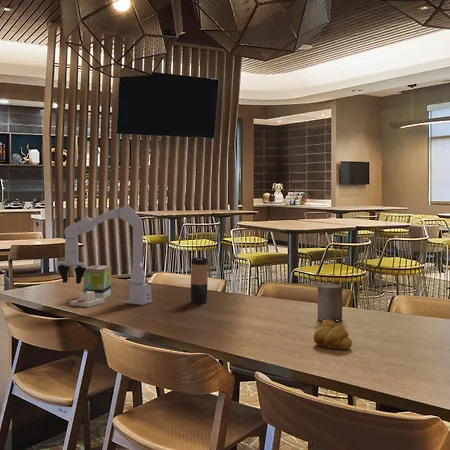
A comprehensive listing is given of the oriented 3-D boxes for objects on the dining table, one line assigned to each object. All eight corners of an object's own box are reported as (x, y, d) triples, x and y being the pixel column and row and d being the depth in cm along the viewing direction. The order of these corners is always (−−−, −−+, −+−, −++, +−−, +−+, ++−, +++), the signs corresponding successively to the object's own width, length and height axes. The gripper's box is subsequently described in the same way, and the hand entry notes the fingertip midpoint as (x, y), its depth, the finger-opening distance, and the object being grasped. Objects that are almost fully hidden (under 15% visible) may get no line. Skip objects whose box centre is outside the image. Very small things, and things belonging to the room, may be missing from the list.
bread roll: (358, 349, 179) (358, 324, 179) (336, 354, 174) (337, 328, 173) (328, 340, 190) (329, 317, 189) (307, 344, 184) (307, 320, 184)
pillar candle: (343, 318, 226) (343, 280, 225) (341, 323, 217) (341, 284, 216) (318, 316, 229) (318, 280, 228) (315, 321, 219) (316, 283, 219)
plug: (94, 303, 251) (94, 289, 251) (87, 305, 246) (87, 291, 246) (86, 302, 253) (86, 289, 252) (79, 304, 248) (79, 290, 248)
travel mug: (208, 300, 261) (208, 257, 260) (206, 304, 253) (207, 259, 252) (191, 300, 262) (192, 257, 261) (189, 303, 254) (190, 259, 253)
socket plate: (104, 303, 252) (104, 297, 252) (88, 307, 242) (88, 301, 242) (86, 301, 257) (86, 295, 257) (69, 305, 247) (69, 299, 247)
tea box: (104, 300, 259) (104, 268, 259) (82, 300, 260) (82, 268, 259) (111, 295, 274) (111, 264, 274) (90, 294, 275) (90, 264, 274)
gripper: (52, 252, 249) (52, 282, 250) (78, 253, 243) (78, 285, 244) (63, 251, 256) (63, 280, 256) (89, 252, 249) (89, 283, 250)
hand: (71, 282), depth 250 cm, fingers open, 7 cm apart
